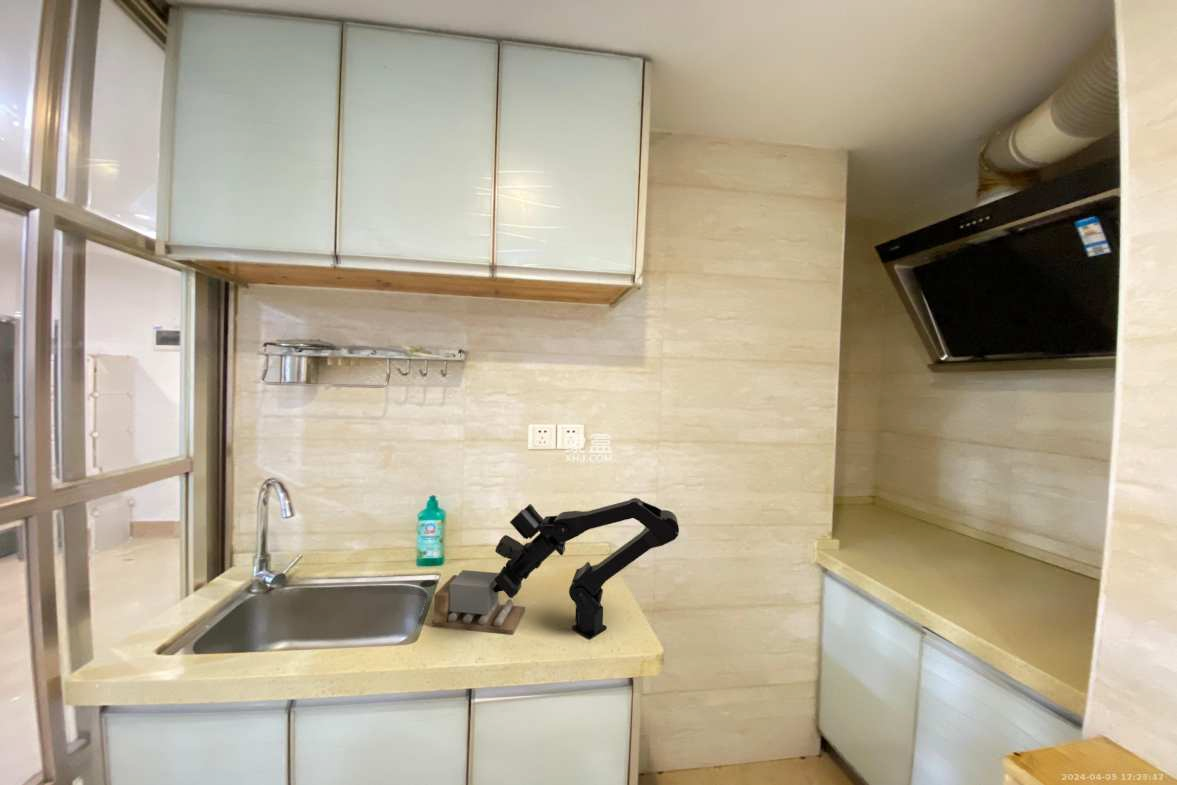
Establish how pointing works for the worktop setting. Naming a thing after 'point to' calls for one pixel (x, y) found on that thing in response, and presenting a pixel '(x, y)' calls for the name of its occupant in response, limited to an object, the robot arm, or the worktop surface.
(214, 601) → the worktop surface
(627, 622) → the worktop surface
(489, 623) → the roller bed
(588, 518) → the robot arm
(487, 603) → the gray rectangular block
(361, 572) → the worktop surface
